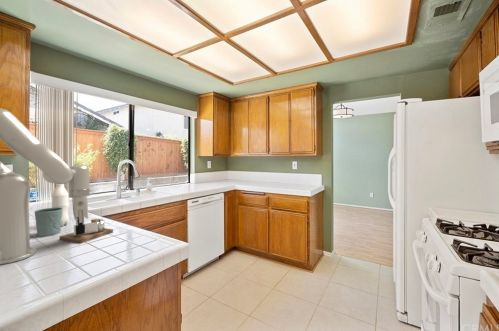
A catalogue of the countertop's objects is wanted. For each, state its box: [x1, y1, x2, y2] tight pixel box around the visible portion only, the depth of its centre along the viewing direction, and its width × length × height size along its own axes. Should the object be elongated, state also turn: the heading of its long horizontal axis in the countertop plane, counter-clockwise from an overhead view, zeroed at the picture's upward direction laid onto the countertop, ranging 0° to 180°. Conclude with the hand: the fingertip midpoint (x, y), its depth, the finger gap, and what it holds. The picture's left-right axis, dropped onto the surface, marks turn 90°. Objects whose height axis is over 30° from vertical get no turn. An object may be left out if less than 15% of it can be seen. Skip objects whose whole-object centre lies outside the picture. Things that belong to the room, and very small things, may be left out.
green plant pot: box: [34, 207, 62, 238], centre depth 110 cm, size 10×10×12 cm
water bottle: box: [51, 184, 70, 227], centre depth 124 cm, size 7×7×25 cm
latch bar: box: [73, 218, 106, 236], centre depth 106 cm, size 12×4×5 cm, turn 128°
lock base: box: [59, 218, 114, 244], centre depth 107 cm, size 15×14×6 cm
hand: (80, 233), depth 101 cm, fingers closed
